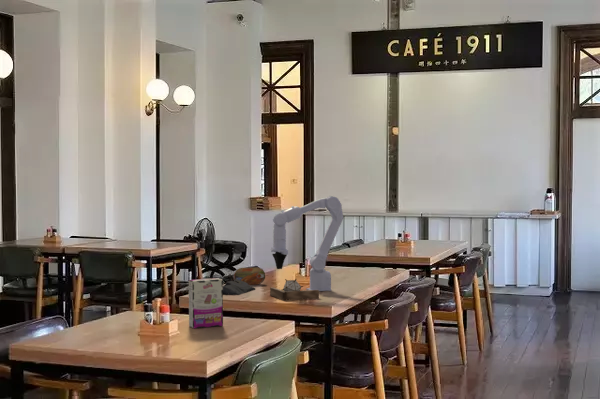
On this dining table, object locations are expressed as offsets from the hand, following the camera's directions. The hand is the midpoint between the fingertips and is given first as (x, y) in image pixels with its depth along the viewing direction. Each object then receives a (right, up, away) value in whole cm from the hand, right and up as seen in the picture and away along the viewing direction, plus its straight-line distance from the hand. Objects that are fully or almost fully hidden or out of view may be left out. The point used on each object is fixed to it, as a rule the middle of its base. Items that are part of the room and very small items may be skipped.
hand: (279, 268), depth 356 cm
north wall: (+10, -11, -25) cm, 28 cm away
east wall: (0, -11, -22) cm, 24 cm away
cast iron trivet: (-21, -11, -3) cm, 24 cm away
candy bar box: (-23, -12, -87) cm, 90 cm away
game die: (+6, -11, -20) cm, 23 cm away
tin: (-15, -10, +20) cm, 26 cm away
